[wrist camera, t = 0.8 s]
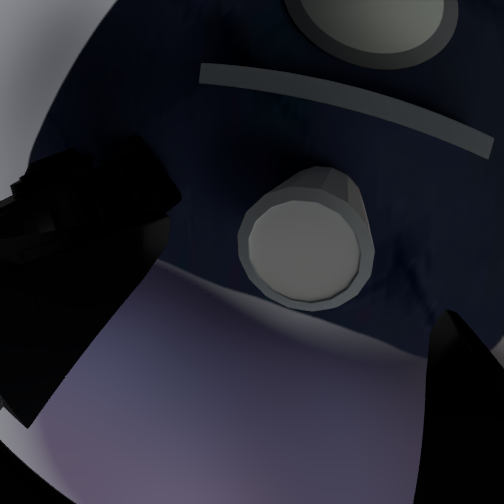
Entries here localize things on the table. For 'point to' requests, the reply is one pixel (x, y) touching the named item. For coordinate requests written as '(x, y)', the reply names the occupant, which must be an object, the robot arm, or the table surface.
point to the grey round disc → (377, 29)
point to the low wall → (349, 102)
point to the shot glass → (308, 241)
